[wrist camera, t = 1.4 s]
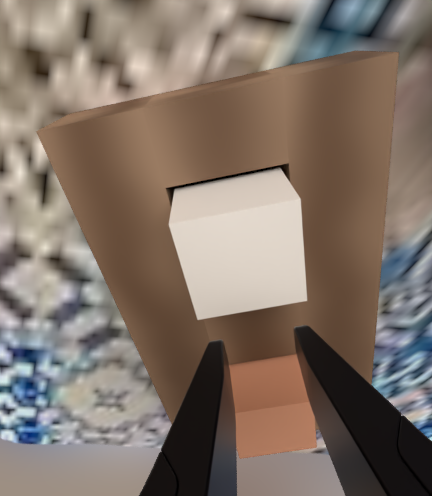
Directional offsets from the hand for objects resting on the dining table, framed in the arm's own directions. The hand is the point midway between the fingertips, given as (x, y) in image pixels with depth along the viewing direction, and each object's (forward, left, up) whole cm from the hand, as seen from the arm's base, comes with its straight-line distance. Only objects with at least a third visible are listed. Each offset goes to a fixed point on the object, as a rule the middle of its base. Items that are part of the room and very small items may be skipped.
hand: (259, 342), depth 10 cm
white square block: (0, 0, -7) cm, 7 cm away
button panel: (0, +6, -11) cm, 13 cm away
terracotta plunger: (0, +12, -7) cm, 14 cm away
